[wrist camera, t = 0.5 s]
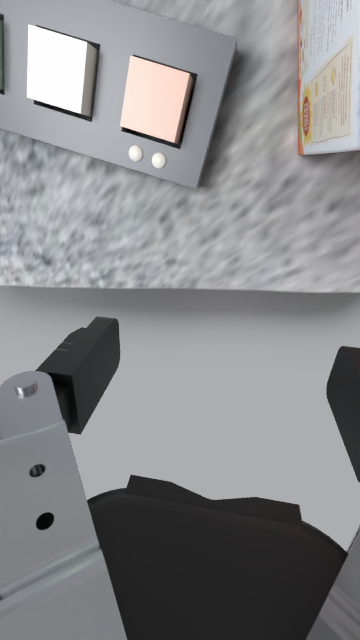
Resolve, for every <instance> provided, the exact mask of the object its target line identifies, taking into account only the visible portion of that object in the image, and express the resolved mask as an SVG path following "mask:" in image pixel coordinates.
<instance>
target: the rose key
mask: <svg viewBox="0 0 360 640" xmlns="http://www.w3.org/2000/svg"><path fill="white" fill-rule="evenodd" d="M193 83H194V80H193V79H192V77H191V75H190V73H186V72H183V71H180V70H177V69H173V68H170V67H167V66H163V65H160V64H157V63H154V62H150V61H147V60H144V59H141V58H137V57H134V56H131V55H130V61H129V68H128V75H127V82H126V88H125V95H124V102H123V109H122V116H121V122H120V126H122V127H125V128H128V129H131V130H135V131H138V132H141V133H144V134H147V135H151V136H154V137H157V138H160V139H164V140H167V141H170V142H173V143H177V144H179V143H180V139H181V135H182V130H183V126H184V122H185V117H186V113H187V109H188V104H189V100H190V96H191V91H192V87H193Z"/></svg>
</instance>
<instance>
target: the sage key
mask: <svg viewBox="0 0 360 640" xmlns="http://www.w3.org/2000/svg"><path fill="white" fill-rule="evenodd" d="M0 89H3V90H5V87H4V22H3V21H2V20H0Z"/></svg>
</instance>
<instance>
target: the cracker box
mask: <svg viewBox="0 0 360 640" xmlns="http://www.w3.org/2000/svg"><path fill="white" fill-rule="evenodd" d="M358 150H360V0H298V154H299V155H312V154H325V153H336V152H348V151H358Z"/></svg>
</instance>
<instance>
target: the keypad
mask: <svg viewBox="0 0 360 640" xmlns="http://www.w3.org/2000/svg"><path fill="white" fill-rule="evenodd" d="M0 20H2V21H4V87H5V94H2V93H0V128H1V129H4V130H7V131H11V132H14V133H17V134H20V135H24V136H27V137H30V138H33V139H36V140H40V141H43V142H46V143H49V144H53V145H56V146H59V147H62V148H65V149H69V150H72V151H75V152H78V153H82V154H85V155H88V156H91V157H94V158H98V159H101V160H104V161H107V162H111V163H114V164H117V165H120V166H123V167H127V168H130V169H133V170H136V171H140V172H143V173H146V174H149V175H152V176H156V177H159V178H162V179H165V180H169V181H172V182H175V183H178V184H181V185H185V186H188V187H191V188H194V189H197V188H198V187H199V185H200V182H201V178H202V174H203V171H204V167H205V163H206V160H207V156H208V153H209V149H210V145H211V142H212V138H213V134H214V131H215V127H216V124H217V120H218V116H219V113H220V109H221V105H222V102H223V98H224V95H225V91H226V87H227V84H228V80H229V76H230V73H231V69H232V66H233V62H234V58H235V55H236V51H237V39H235V38H232V37H229V36H225V35H222V34H219V33H216V32H212V31H209V30H206V29H202V28H199V27H196V26H192V25H189V24H186V23H183V22H179V21H176V20H173V19H169V18H166V17H163V16H159V15H156V14H153V13H150V12H146V11H143V10H140V9H136V8H133V7H130V6H127V5H123V4H120V3H117V2H113V1H110V0H0ZM28 24H29V25H33V26H36V27H39V28H42V29H46V30H49V31H52V32H55V33H59V34H62V35H65V36H69V37H72V38H75V39H78V40H82V41H85V42H88V43H89V44H90V45H91V46H93V47H94V48H95V49H97V50H100V53H99V63H98V72H97V81H96V90H95V100H94V109H93V118H92V121H89V120H86V119H83V118H80V117H76V116H73V115H70V114H67V113H63V112H60V111H57V110H54V109H51V108H50V104H47V103H44V102H41V101H37V100H34V99H31V98H28V97H27V66H28ZM130 55H131V56H134V57H137V58H141V59H144V60H147V61H150V62H154V63H157V64H160V65H163V66H167V67H170V68H173V69H177V70H180V71H183V72H186V73H190V75H191V77H192V79H195V80H196V84H195V89H194V93H193V97H192V101H191V106H190V110H189V114H188V118H187V123H186V127H185V131H184V135H183V140H182V144H181V148H177V147H174V146H170V145H167V144H164V143H161V142H157V141H154V140H151V139H148V138H144V137H141V136H138V135H135V134H131V129H128V128H125V127H122V126H120V122H121V116H122V109H123V102H124V95H125V88H126V82H127V75H128V68H129V61H130Z"/></svg>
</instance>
